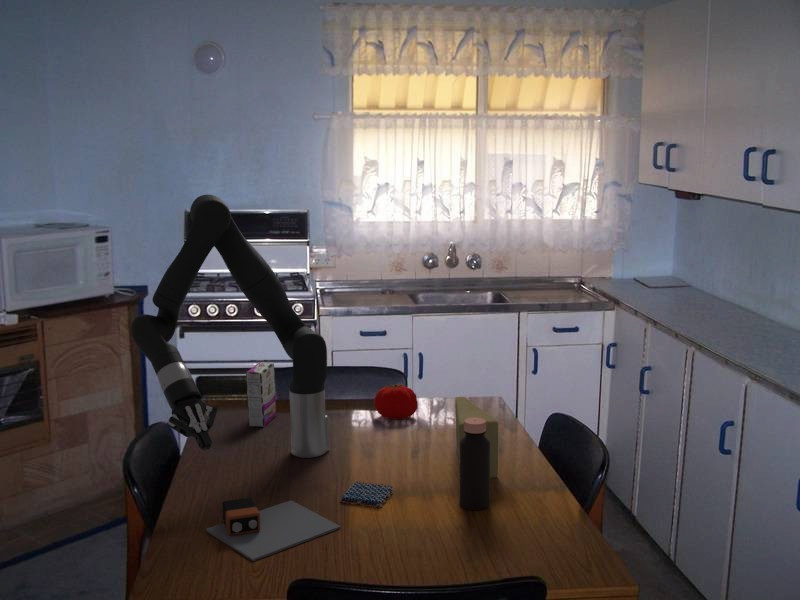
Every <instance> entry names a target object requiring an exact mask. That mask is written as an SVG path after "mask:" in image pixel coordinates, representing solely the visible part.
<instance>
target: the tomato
mask: <svg viewBox="0 0 800 600" xmlns="http://www.w3.org/2000/svg"><path fill="white" fill-rule="evenodd" d="M373 401H374V408H375V410H376V412H378V414H379V415H380V416H381V417H382V418H386V419H389V420H401V419H408V418H409V419H410V417H412V416H413V415H414V414H415V413H416V412H417V409H418V407H419V406H418V405H419V403H418V398H417V393H415V391H414V390H413V389H412V388H410V387H407V386H405V385H403V384H399V383H397V384H394V383H393V384H392V385H386V386H383V387H382V388H380V389H379V390H378V391H377V392H376V394H375V396H374V399H373Z"/></svg>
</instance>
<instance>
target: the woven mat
mask: <svg viewBox="0 0 800 600" xmlns="http://www.w3.org/2000/svg"><path fill="white" fill-rule="evenodd" d="M393 491H394V486H392V485H389V484H387V485H384V484H382V483H381V485H380V484H377V483H375V484H374V483H371V482H369V483H366V482H364V481H362V482H358V480H357V481H355V482H354V483H352V485H351V486H349V488H348V489H347V490H346V491H345V492H344V494H342V496H341V498H340V500H339V502H340V503H341V502H343V503H344V504H349V503H351V505H356V504H357V505H358V506H359V505H360V506H364V505H365V506H366V507H372V506H374V507H373V508H378V507H379V508H382V507H383V505H384V504H385V503H386V501H389V498H390V497H391V495H392V494H393V493H394V492H393ZM387 497H388V498H387Z"/></svg>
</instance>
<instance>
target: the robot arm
mask: <svg viewBox="0 0 800 600" xmlns="http://www.w3.org/2000/svg"><path fill="white" fill-rule="evenodd" d="M189 218H190V221H191V224H190V228H189V230H188V233H187V236H186V239H185V241H184V243H183V245H182V247H181V249H180V250H179V252H178V254H177V255H176V256H175V258H174V259H173V260H172V262H171V263H170V265H169V266H168V267H167V269H166V271H164V272H165V273H164V274H163V276H162V278H161V280H160V281H159V283H158V286H157V287H156V289H155V292H154V293H153V296H152V300H151V301H152V304H153V305H154V306H155V307H157V308H158V310H157V315H152V314H145V313H144V314H139V315H137V316H136V317H134V319H133V320H132V321H131V324H130V325H131V326H130V332H131V338H132V339H133V341H134V344H136V346H137V347H138V348H139V350H140V351H141V352H142V354H143V355H144V356H145V357H146V359H148V361H149V362H150V364H151V366H152V368H153V370H154V373H155V374H156V377H157V380H158V384H159V387H160V389H161V391H162V392H163V395H164V397H165V399H166V401H167V404H168V405H169V408H170V409H171V416H170V417H169V419H168V420H167V422H166V426H167V427H169V428H170V429H172V430H174V431H176V432H177V433H179V434H181V435H182V436H184V437H185V438H189V437H192V438H194V439H195V441H196V444H197V446H198V448H199V449H201V450H202V451H208V450H210V448H211V447H212V444H213V440H212V439H211V436H210V435H209V432H210V431H211V429H212V427H214V423H215V419H216V416H217V412H218V410H219V409H218V407H217V406H209V405H207V402H205V401H204V400H203V398H202V394H201V393H200V390H199V389H198V386H197V383H196V381H195V380H194V378H193V376H192V374H191V372H190V370H189V368H188V367H187V365H186V363H185V362H184V360H183V358H182V356H181V354H180V352H179V349H178V348H177V346H175V345H173V344H171V343H170V341H171V340H172V339H173V336H174V335H175V332H176V327H177V324H178V320H179V315H180V310H181V308H182V305H183V303H184V301H185V300H186V297H187V296H188V294H189V291H190V289H191V287H192V285H193V283H194V282H195V279H196V277H197V275H198V273H199V271H200V269H201V268H202V266H203V264H204V262H205V261H206V259H207V258H208V256H209V254H210V253H211V251H212V250H213V248H215V249H216V251H217V252H218V254H219V255H220V256H221V258H222V260H223V262H224V264H225V266H226V268H227V270H228V272H229V274H230V275H231V277H232V278H233V280H234V281H235V283H236V284H237V287H239V289H240V290H241V292H242V293H243V294H244V296H245V297H246V299H247V300H248V301H249V303H251V305H252V307H254V309H255V310H256V311H257V312H258V314H260V316H261V317H262V318H263V319H264V320H265V321H266V322H267V323H268V324H269V326H270V327H271V329H272V330H273V332H274V335H275V336H276V338H278V341H279V342H280V344H281V346H282V348H283V349H284V351H285V354H286V355H287V356H288V357H289V359H291V360H292V377H291V378H290V379H289V381H288V390H289V392H288V393H289V394H288V395H289V396H288V397H289V415H290V416H289V417H290V418H289V419H290V420H289V421H290V423H289V424H290V445H291V446H290V449H291V455H292V456H294V457H297V458H302V459H303V458H308V459H309V458H310V459H311V458H316V457H320V456H322V455H325V454H326V453H327V452H328V451H330V426H329V425H330V421H329V420H330V419H329V415H326V400H325V399H326V395H325V394H326V392H325V389H326V388H325V385H326V384H325V383H326V381H327V376H328V349H327V348H328V347H327V342H326V341H325V339H324V337H323V336H322V335H321V334H320V333H318V332H316V331H315V330H312V329H311V328H310V327H309V326H308V325H307V324H306V323H305V322H304V321H303V319H302V318H301V317H300V316H299V315H298V314H297V313H296V311H295V310H294V309H293V307H292V305H291V302H290V300H289V298H288V295H287V293H286V291H285V288H284V285H283V284H282V282H281V280H280V279H279V277H278V276H277V275H276V272H275V271H274V270H273V269H272V267H271V266H270V265H269V263H268V262H267V261H266V260H265V258H264V257H263V256H262V255H261V254H260V253H259V252H258V250H257V249H256V248H255V247H254V246H253V245H252V244H251V243H250V242H249V240H247V239H246V238H245V236H244V235H243V233H242V232H241V231H240V229H239V227H238V226H237V224H236V222H235V220H234V218H233V216H232V214H231V211H230V208H229V206H228V205H227V204H226V203H225V201H224V200H223V199H221V198H220V197H218V196H217V195H213V194H203V195H199V196H198V197H196V198H195V199H194V200H193V202H192V203H191V205H190V209H189ZM205 414H206V416H207V421H206V418H205Z"/></svg>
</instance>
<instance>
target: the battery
mask: <svg viewBox="0 0 800 600" xmlns="http://www.w3.org/2000/svg"><path fill="white" fill-rule="evenodd" d="M221 504H222V505H221V506H222V507H221V508H222V519H223V523H225V526H226V529H227V532H228V535H229V536H233V535H240V534H246V533H253V532H259V531H260V514H259V511H260V510H259V509H258V507H257V504H256V502H255V500H254V498H253V497H245V498H237V499H229V500H223V501H222V503H221Z"/></svg>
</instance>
